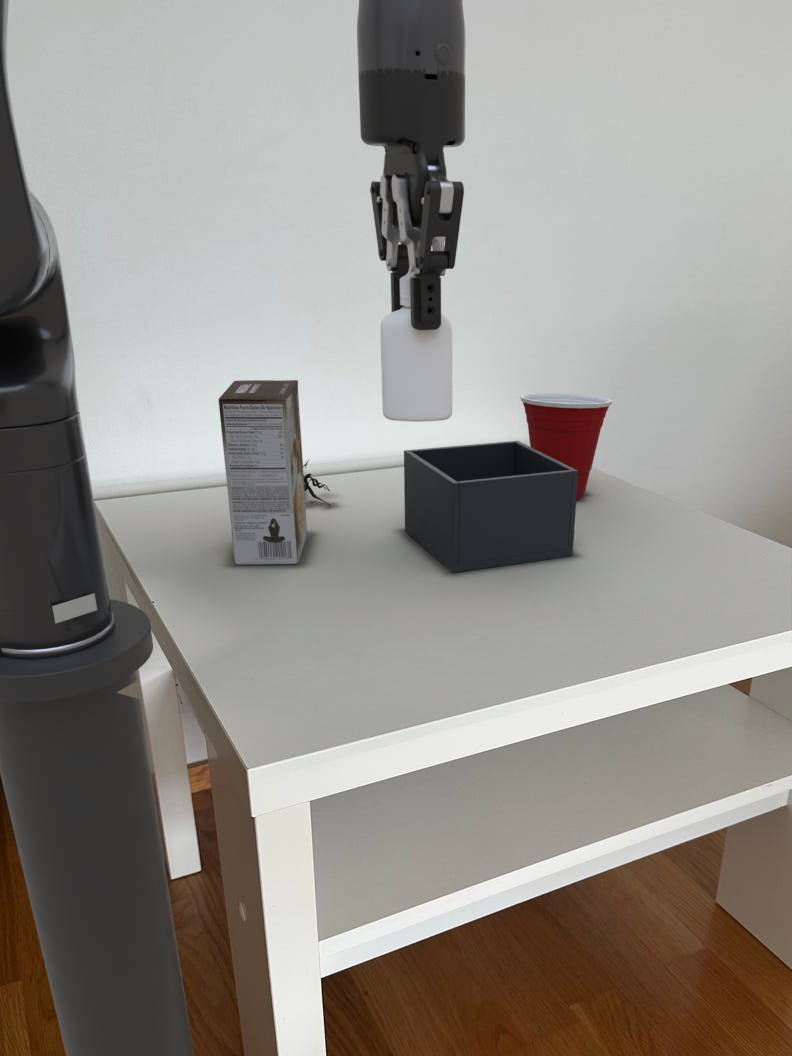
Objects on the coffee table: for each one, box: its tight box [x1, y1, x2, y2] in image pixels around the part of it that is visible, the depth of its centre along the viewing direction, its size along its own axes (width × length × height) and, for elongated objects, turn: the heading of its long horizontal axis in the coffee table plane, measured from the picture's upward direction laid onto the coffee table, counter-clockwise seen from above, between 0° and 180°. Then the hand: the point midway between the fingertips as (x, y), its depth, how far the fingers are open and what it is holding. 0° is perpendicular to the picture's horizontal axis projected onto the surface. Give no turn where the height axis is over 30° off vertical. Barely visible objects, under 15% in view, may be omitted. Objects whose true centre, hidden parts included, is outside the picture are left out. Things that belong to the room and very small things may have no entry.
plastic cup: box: [519, 392, 613, 501], centre depth 112 cm, size 11×11×12 cm
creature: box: [303, 459, 331, 506], centre depth 108 cm, size 8×5×8 cm
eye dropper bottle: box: [380, 269, 453, 423], centre depth 74 cm, size 4×6×12 cm
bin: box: [403, 440, 578, 574], centre depth 96 cm, size 13×13×9 cm
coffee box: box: [218, 379, 308, 566], centre depth 91 cm, size 9×6×16 cm
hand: (416, 324), depth 73 cm, fingers closed on eye dropper bottle, 4 cm apart
